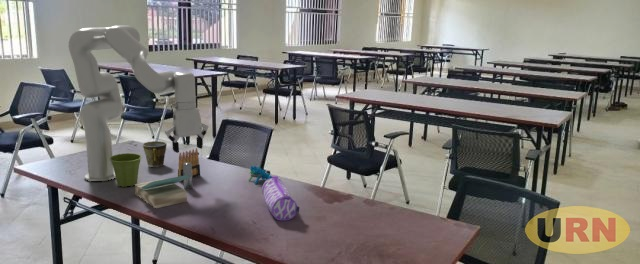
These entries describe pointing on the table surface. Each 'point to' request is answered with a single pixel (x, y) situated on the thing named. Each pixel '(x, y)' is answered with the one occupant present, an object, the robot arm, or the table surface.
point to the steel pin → (188, 171)
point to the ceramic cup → (155, 153)
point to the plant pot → (126, 168)
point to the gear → (258, 174)
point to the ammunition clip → (192, 159)
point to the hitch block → (161, 194)
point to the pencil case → (279, 199)
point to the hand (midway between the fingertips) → (188, 149)
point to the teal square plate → (164, 182)
